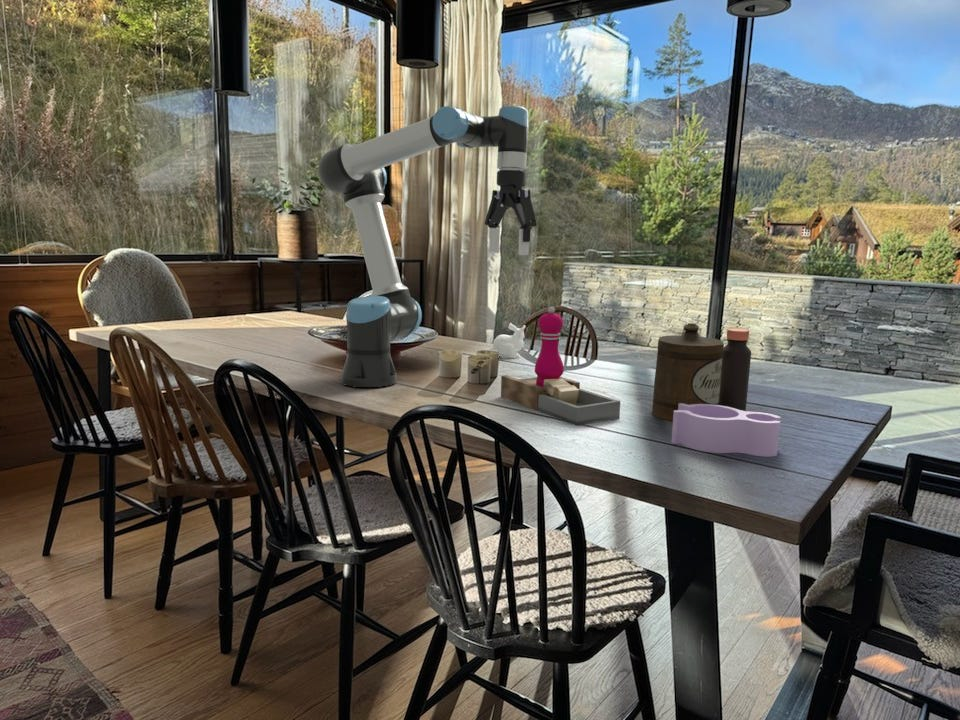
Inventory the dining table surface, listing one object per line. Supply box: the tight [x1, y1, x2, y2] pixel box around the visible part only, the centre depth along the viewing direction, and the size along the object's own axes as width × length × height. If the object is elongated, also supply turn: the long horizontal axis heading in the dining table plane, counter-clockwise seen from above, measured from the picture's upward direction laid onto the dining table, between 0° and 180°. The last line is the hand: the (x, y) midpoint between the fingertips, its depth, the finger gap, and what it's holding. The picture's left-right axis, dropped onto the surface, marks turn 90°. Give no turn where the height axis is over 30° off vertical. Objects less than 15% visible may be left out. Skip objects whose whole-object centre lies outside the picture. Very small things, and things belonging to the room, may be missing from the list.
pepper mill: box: [534, 306, 565, 387], centre depth 167 cm, size 7×7×20 cm
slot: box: [500, 374, 581, 411], centre depth 171 cm, size 16×13×6 cm
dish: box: [537, 388, 621, 426], centre depth 159 cm, size 14×13×4 cm
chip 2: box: [553, 385, 579, 405], centre depth 160 cm, size 5×5×2 cm
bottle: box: [718, 328, 752, 411], centre depth 163 cm, size 7×7×20 cm
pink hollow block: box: [671, 403, 782, 458], centre depth 137 cm, size 20×12×7 cm, turn 65°
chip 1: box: [543, 379, 570, 397], centre depth 163 cm, size 5×5×2 cm
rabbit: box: [489, 322, 526, 359], centre depth 228 cm, size 12×9×12 cm
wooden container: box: [651, 322, 725, 422], centre depth 158 cm, size 15×15×22 cm
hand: (508, 253), depth 178 cm, fingers open, 13 cm apart
